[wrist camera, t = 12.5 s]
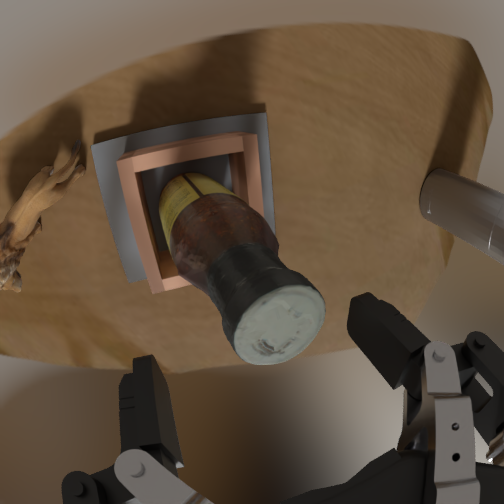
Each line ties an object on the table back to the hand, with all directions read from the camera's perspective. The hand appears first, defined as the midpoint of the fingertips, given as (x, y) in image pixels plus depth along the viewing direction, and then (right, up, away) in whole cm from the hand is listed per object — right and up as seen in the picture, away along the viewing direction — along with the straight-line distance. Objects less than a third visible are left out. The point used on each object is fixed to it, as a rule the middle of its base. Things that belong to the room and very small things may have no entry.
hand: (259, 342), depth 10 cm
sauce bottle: (-6, +9, +17) cm, 20 cm away
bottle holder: (-7, +9, +18) cm, 21 cm away
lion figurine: (-22, +8, +13) cm, 26 cm away
